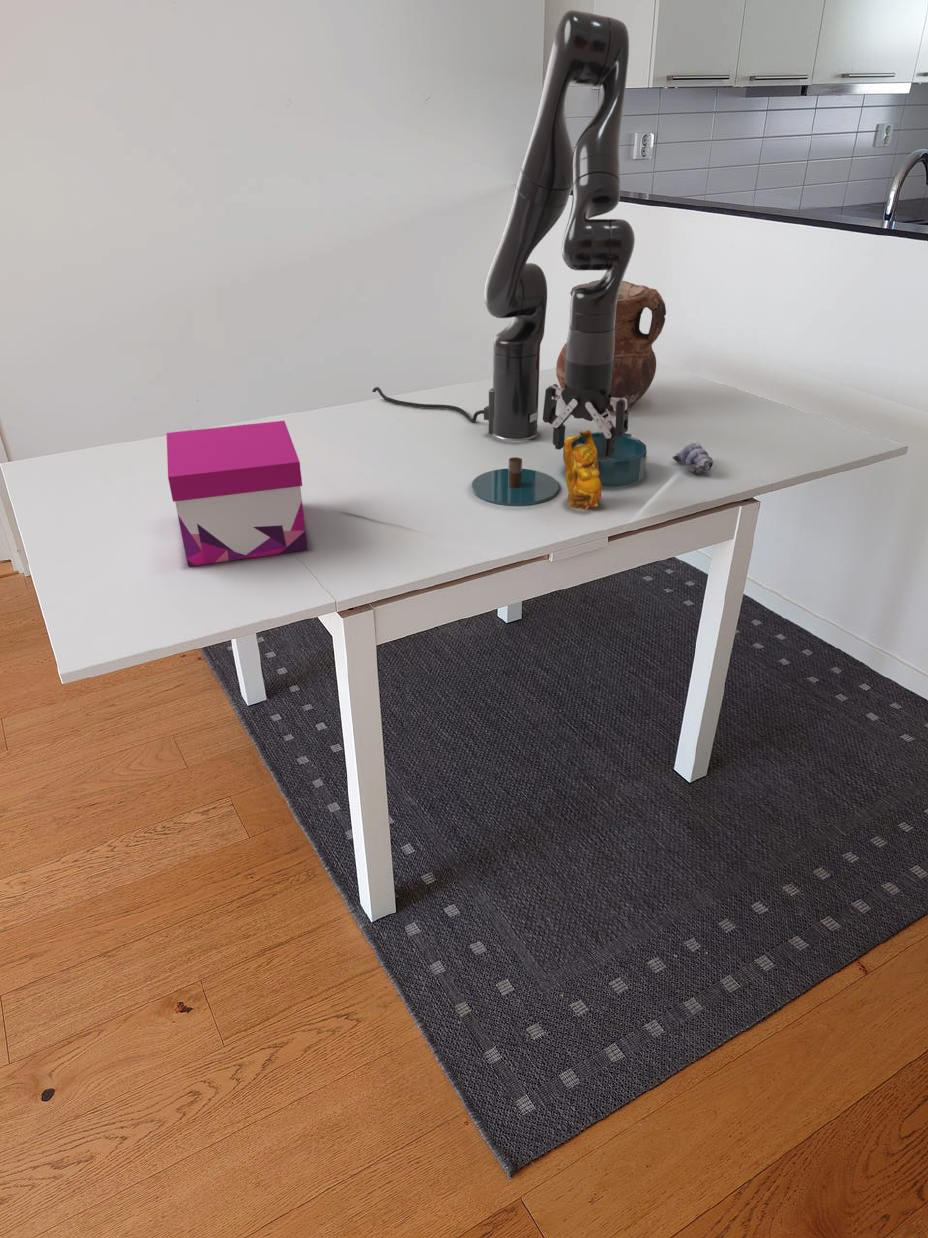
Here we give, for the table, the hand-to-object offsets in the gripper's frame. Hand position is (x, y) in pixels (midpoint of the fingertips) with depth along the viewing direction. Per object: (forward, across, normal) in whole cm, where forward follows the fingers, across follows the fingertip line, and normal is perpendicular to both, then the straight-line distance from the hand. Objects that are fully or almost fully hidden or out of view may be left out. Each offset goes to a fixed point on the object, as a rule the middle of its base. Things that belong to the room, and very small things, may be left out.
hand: (582, 452), depth 149 cm
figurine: (+10, -1, 0) cm, 10 cm away
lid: (+9, +13, 0) cm, 16 cm away
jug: (+10, +18, -53) cm, 57 cm away
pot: (+10, +2, -15) cm, 18 cm away
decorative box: (+10, +43, +37) cm, 58 cm away
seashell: (+10, -12, -25) cm, 30 cm away
